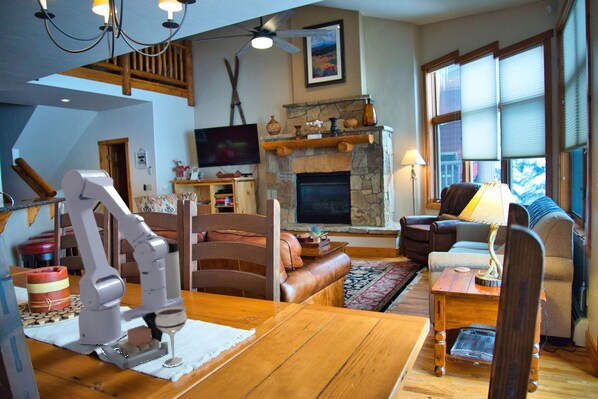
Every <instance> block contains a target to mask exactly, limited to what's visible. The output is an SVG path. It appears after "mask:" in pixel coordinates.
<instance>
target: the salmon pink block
mask: <svg viewBox="0 0 598 399" xmlns="http://www.w3.org/2000/svg"><path fill="white" fill-rule="evenodd" d="M127 332H128V334H127V338H128V342H129V343H130V344H132V345H133V346H135V347H136V346H139V345H142V344H145V343H148V342H151V341H152V338H151V337H152V336H151V329H150V328H148V326H147V325H146V324H145V325H144V324H141V325H138V326H136V327H132V328H129V329H127Z"/></svg>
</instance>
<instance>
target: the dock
mask: <svg viewBox="0 0 598 399" xmlns="http://www.w3.org/2000/svg"><path fill="white" fill-rule="evenodd" d="M125 340H127V341H128V337H127V338H123V339H120V340H118V341H116V342H114V343H111V344H108V345H100V346H101V347H100V348H101V349H102V350H103V351H104V353H105V354H106V355H107V356H108V357H107V359H109V360H110V361H111V362H112V363H114V364H115V365H116V366H118V368H119V369H120V370H122V371H124V370H127V369H129V368H133V367H135V366H134V365H136V366H138V365H137V364H139V363H141V362H144V361H147V360H150V359H152V360H154V359H153V358H155V359H157V358H156V357H158V356H161V355H163V356H165V355H164V354H166V355H168V354H169V342H168V341H161V342H160V346H159V347H160V348H157V349H154V350H151V351H148V352H145V353H142V354H140V355H137V356H134V357H131V358H128V357H124V355H122V353H121V354H120V353H119V351H118V350H114V349H115V348H118V342H122V341H125ZM102 350H101V351H102ZM167 353H168V354H167ZM161 357H162V356H161ZM158 358H159V357H158ZM150 361H151V360H150ZM147 362H148V361H147ZM144 363H145V362H144ZM141 364H142V363H141ZM139 365H140V364H139Z"/></svg>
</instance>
